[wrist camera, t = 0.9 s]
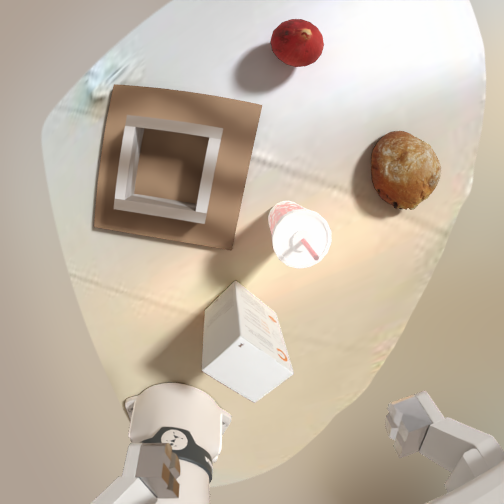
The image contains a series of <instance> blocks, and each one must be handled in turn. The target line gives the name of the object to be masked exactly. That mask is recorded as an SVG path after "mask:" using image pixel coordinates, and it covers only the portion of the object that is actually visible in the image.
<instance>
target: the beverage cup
mask: <svg viewBox="0 0 504 504" xmlns="http://www.w3.org/2000/svg"><path fill="white" fill-rule="evenodd" d="M268 222H269V227H270V230H271V234H272V244H273V249H274V251H275V253H276V255H277V256H278V258H279V260H281V261H282V262H283V263H285V264H286V265H287V266H290V267H294V268H298V269H299V268H306V267H311V266H312V265H314V264H316V263H318V262H320V261H321V260H322V258H323V257H324V256H325V255H326V254H327V253H328V250H329V247H330V245H331V229H330V227H329V225H328V223H327V221H326V220H325V219H324V218H323V217H322V216H320V215H319V214H318V213H316V212H314V211H311V210H308V209H305V208H304V207H302V206H300V205H298V204H297V203H295V202H291V201H281V202H279V203H277V204H275V205H274V206H273V208H272V209H271V210H270V213H269V216H268Z"/></svg>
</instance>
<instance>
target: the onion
mask: <svg viewBox="0 0 504 504" xmlns="http://www.w3.org/2000/svg"><path fill="white" fill-rule="evenodd" d="M271 46H272V51H273V52H274V54H275V55H276V56H277V57H278V59H280V60H281V61H283V62H284V63H285V64H287V65H291V66H295V67H300V66H307V65H310V64H312V63H314V62H316V60H317V59H318V58H319V57H320V55H321V54H322V50H323V46H324V43H323V37H322V34H321V33H320V31H319V30H318V28H317V27H316V26H314V25H313V24H312V23H310V22H308V21H305V20H302V19H291V20H288V21H285V22H282V23H281V24H280V25H279V26H278V27H277V28H276V29H275V30H274V31H273V34H272V37H271Z"/></svg>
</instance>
